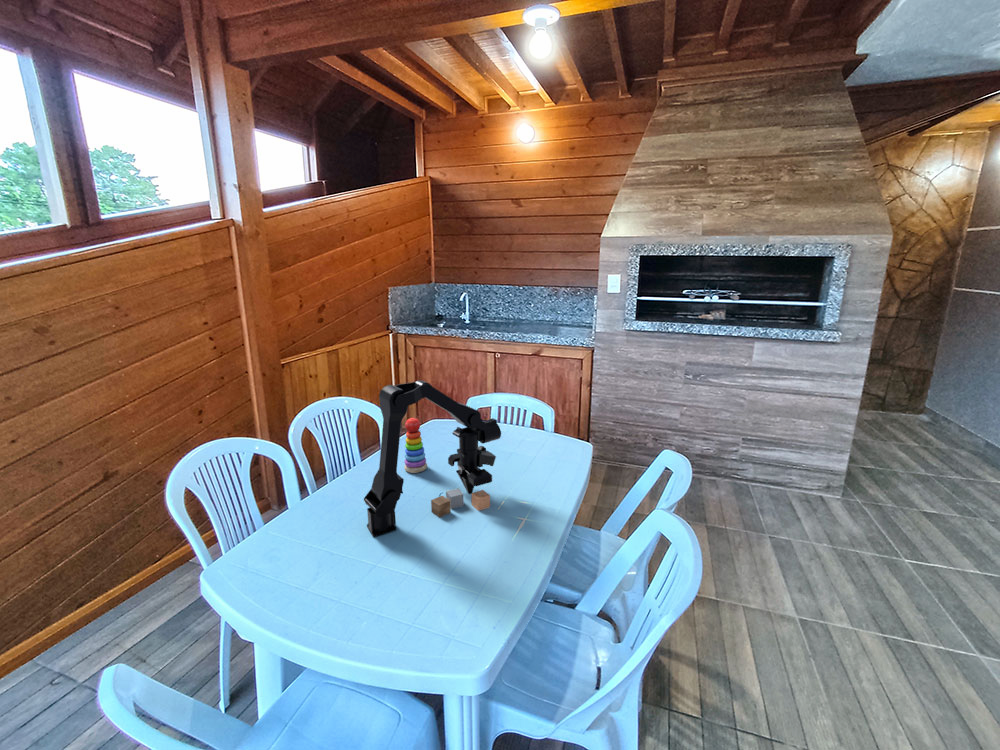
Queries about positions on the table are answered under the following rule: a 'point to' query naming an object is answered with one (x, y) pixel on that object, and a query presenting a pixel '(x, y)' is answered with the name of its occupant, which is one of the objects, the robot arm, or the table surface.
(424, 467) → the stacking toy
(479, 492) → the terracotta block
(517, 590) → the table surface
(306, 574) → the table surface
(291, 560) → the table surface
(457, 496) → the slate block
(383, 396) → the robot arm
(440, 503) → the walnut cube
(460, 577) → the table surface
